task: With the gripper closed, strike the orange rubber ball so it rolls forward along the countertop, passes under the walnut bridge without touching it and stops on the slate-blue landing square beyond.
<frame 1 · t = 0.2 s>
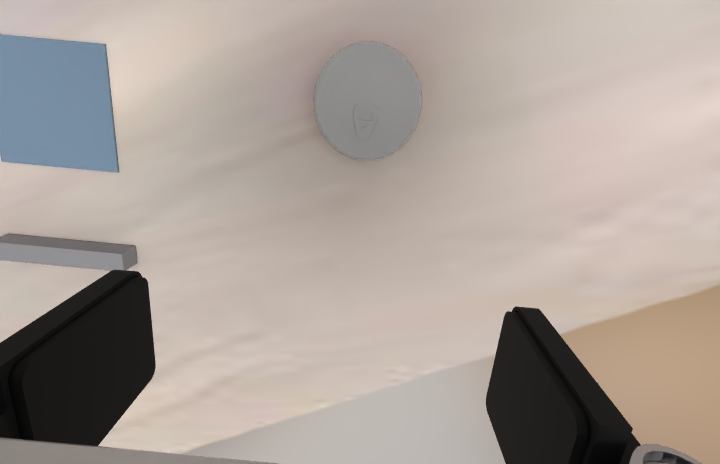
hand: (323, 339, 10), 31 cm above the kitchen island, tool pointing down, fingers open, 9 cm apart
stopper: (73, 248, 44), on the kitchen island
canned food: (369, 102, 38), on the kitchen island
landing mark: (52, 105, 39), on the kitchen island
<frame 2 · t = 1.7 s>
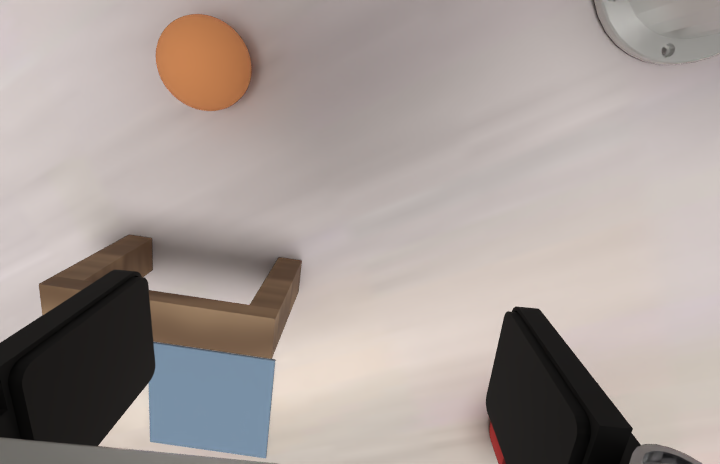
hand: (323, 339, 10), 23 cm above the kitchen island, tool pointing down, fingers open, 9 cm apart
ball: (205, 64, 27), on the kitchen island
bridge: (215, 263, 35), on the kitchen island
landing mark: (210, 401, 40), on the kitchen island
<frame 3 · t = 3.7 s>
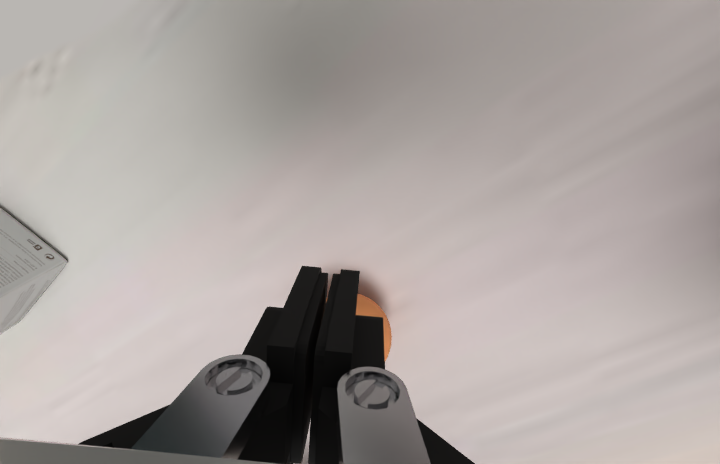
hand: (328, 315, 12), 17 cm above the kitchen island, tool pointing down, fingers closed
ball: (347, 336, 27), on the kitchen island
skincare box: (13, 268, 31), on the kitchen island
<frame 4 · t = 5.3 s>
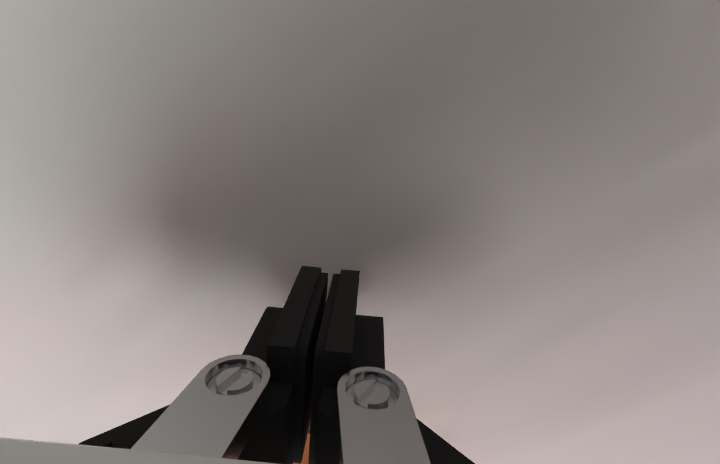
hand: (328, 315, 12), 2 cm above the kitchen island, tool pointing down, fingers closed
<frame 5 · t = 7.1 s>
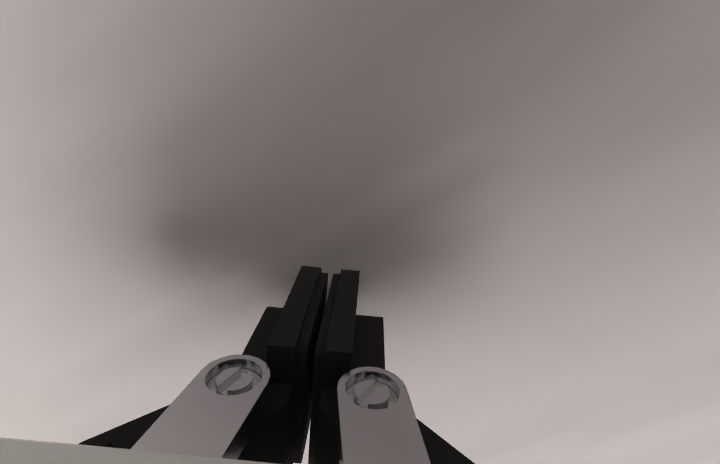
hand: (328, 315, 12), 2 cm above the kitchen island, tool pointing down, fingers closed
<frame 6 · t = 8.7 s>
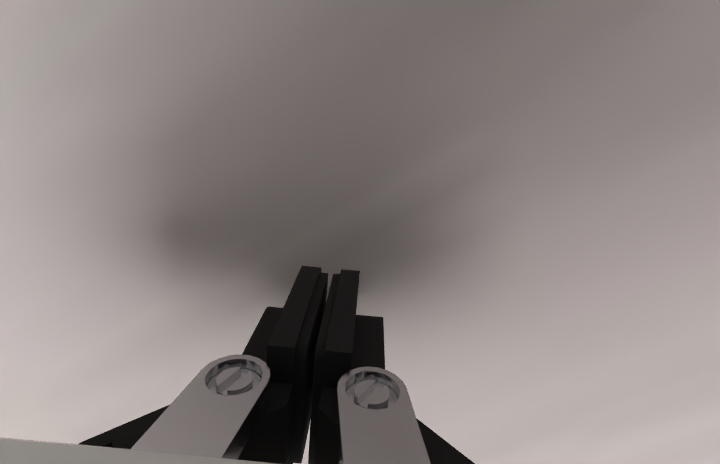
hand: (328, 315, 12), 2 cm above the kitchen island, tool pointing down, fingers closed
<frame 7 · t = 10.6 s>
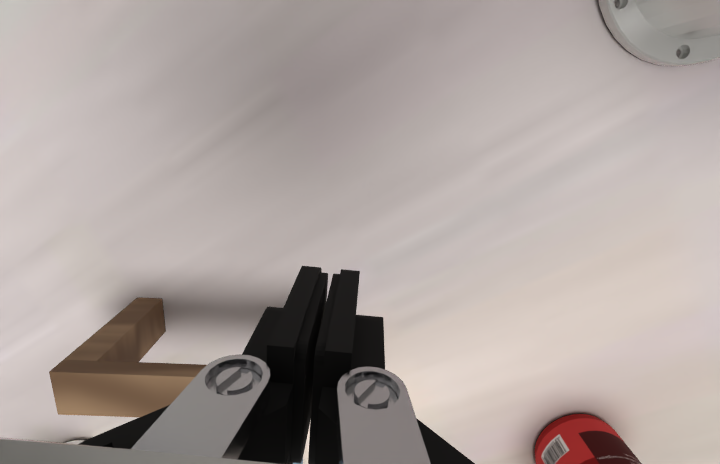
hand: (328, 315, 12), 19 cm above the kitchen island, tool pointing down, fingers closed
bridge: (230, 317, 33), on the kitchen island
canned food: (571, 444, 37), on the kitchen island
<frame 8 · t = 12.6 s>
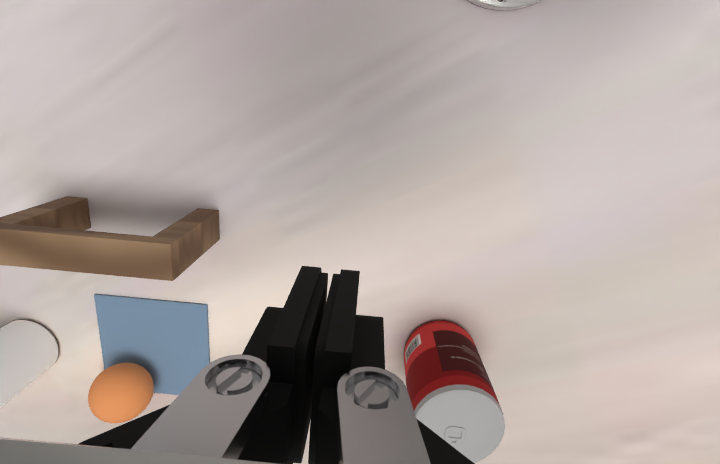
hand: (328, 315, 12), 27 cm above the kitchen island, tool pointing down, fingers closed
ball: (122, 392, 43), on the kitchen island
bridge: (143, 218, 40), on the kitchen island
canned food: (438, 349, 43), on the kitchen island
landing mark: (155, 347, 44), on the kitchen island
can: (34, 342, 45), on the kitchen island
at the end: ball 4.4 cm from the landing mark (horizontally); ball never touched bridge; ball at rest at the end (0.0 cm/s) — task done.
